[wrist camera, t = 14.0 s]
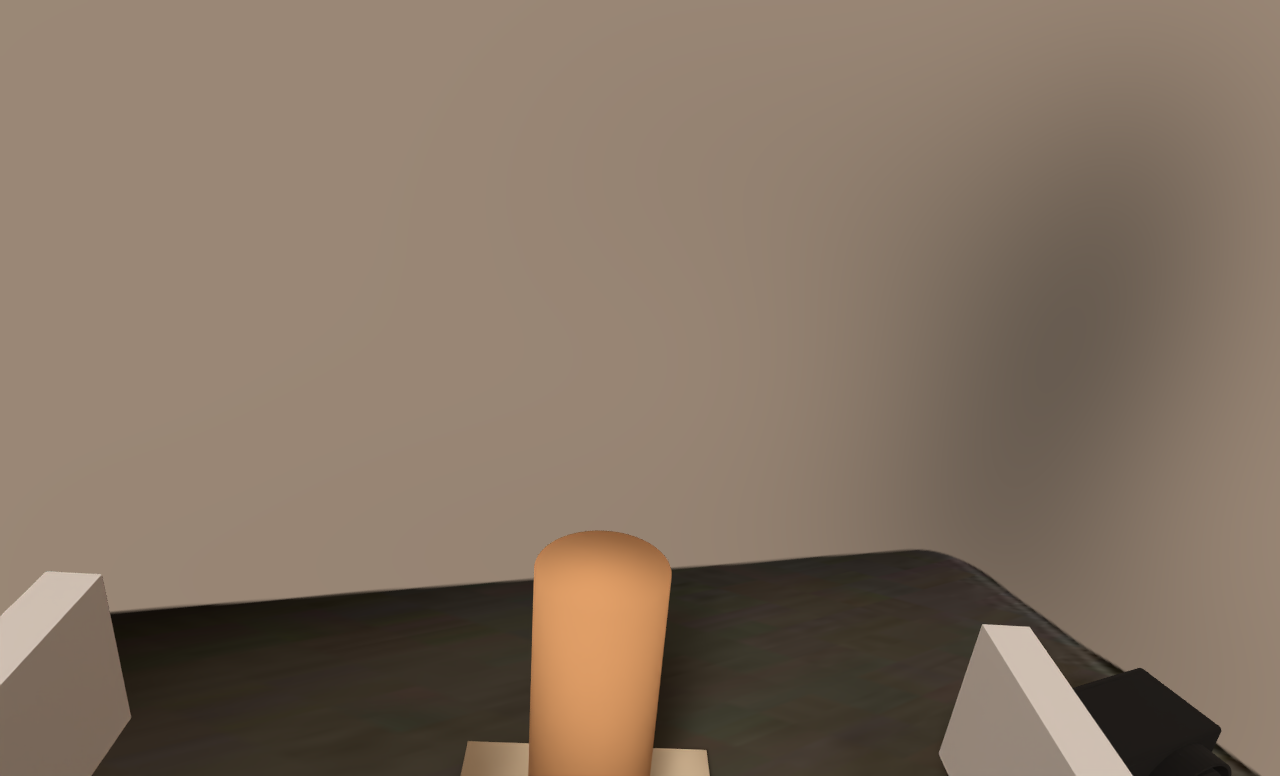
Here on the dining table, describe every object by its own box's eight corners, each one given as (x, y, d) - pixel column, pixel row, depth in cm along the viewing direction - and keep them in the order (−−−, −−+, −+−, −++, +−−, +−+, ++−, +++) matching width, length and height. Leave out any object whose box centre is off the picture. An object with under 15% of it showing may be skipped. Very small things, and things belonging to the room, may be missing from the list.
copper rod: (519, 910, 33) (527, 609, 27) (531, 804, 38) (540, 527, 32) (642, 913, 34) (676, 615, 28) (639, 807, 38) (667, 533, 32)
